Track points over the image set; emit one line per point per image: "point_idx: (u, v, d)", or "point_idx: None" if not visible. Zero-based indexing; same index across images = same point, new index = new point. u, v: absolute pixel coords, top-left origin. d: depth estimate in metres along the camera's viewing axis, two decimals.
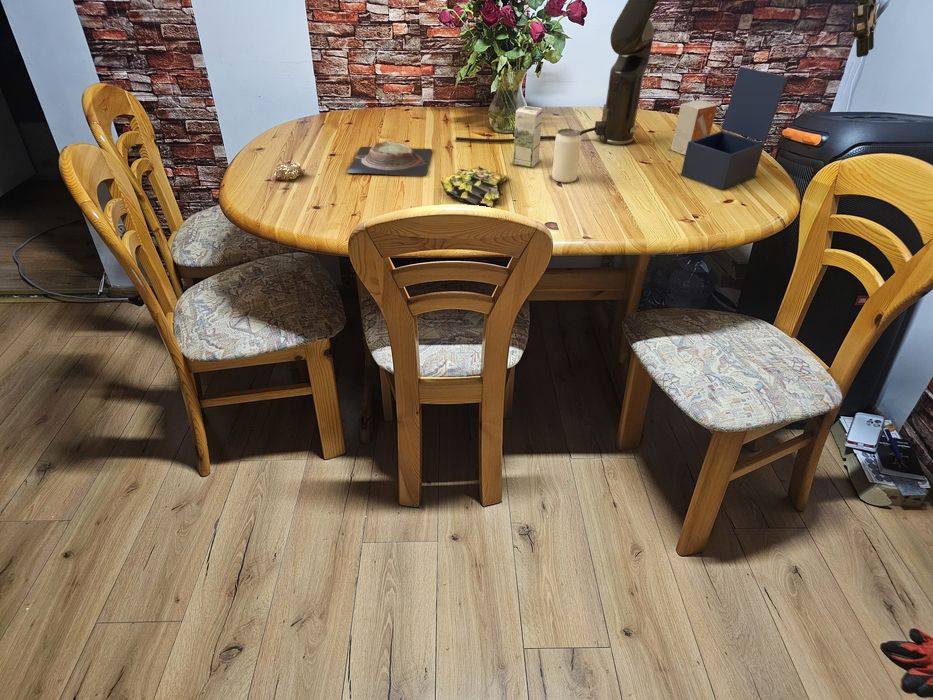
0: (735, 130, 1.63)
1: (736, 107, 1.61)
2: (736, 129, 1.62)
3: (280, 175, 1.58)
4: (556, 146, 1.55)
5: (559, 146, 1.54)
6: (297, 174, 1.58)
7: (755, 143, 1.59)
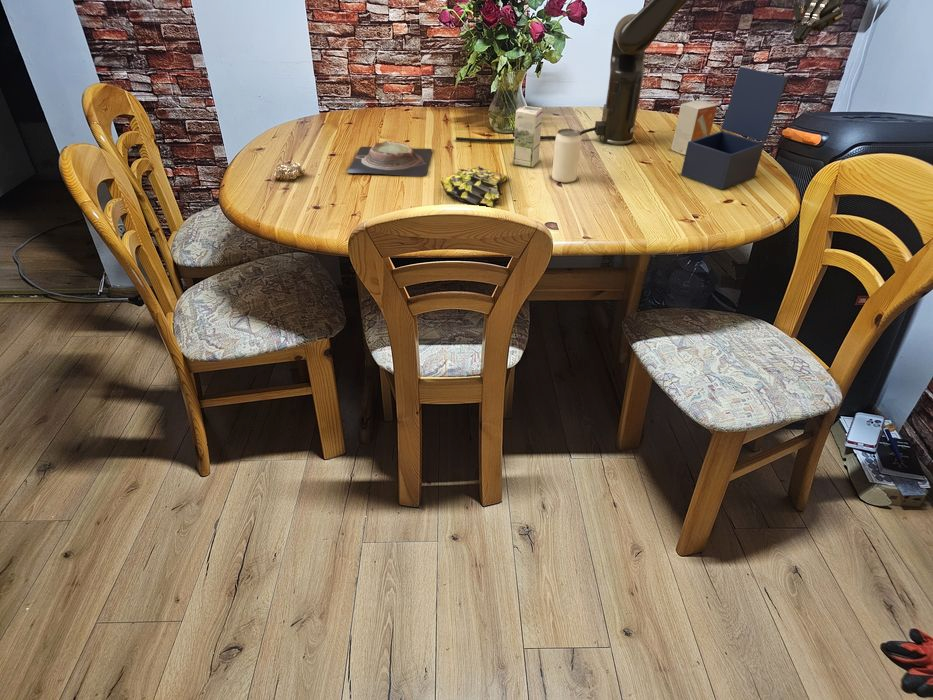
0: (735, 130, 1.63)
1: (736, 107, 1.61)
2: (736, 129, 1.62)
3: (280, 175, 1.58)
4: (556, 146, 1.55)
5: (559, 146, 1.54)
6: (297, 174, 1.58)
7: (755, 143, 1.59)
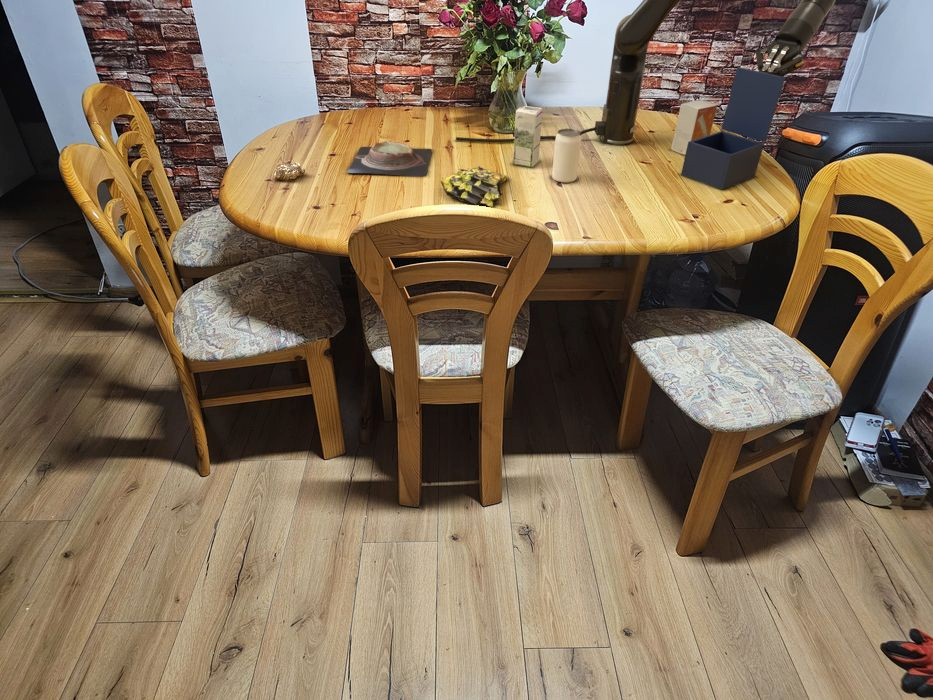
0: (735, 130, 1.63)
1: (735, 107, 1.60)
2: (736, 129, 1.62)
3: (280, 175, 1.58)
4: (556, 146, 1.55)
5: (559, 146, 1.54)
6: (297, 174, 1.58)
7: (755, 143, 1.59)
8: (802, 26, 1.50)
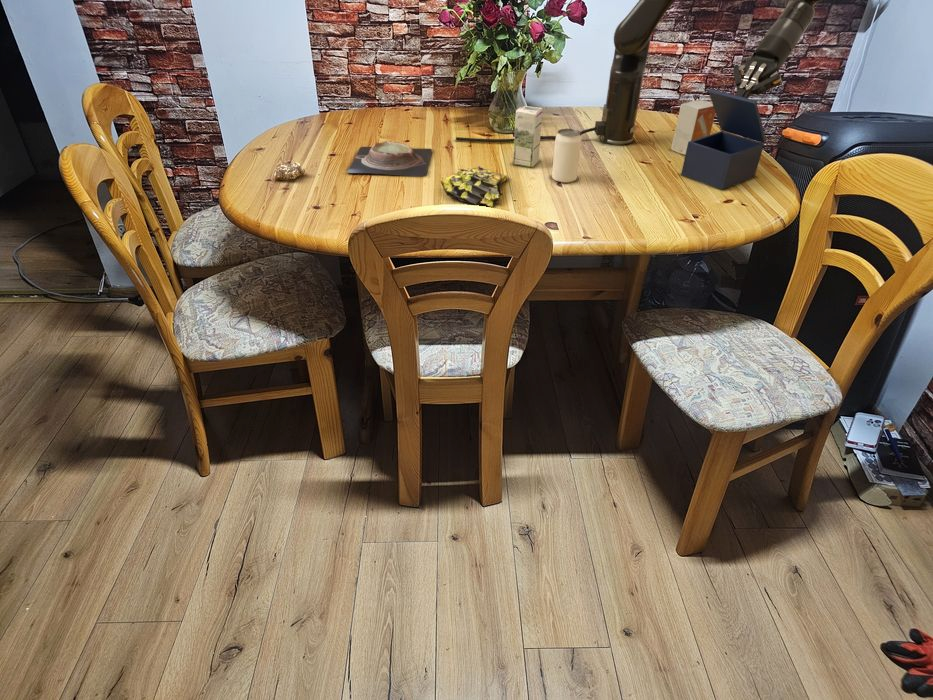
0: (734, 132, 1.63)
1: (724, 117, 1.60)
2: (734, 132, 1.62)
3: (280, 175, 1.58)
4: (556, 146, 1.55)
5: (559, 146, 1.54)
6: (297, 174, 1.58)
7: (755, 143, 1.59)
8: (779, 43, 1.48)
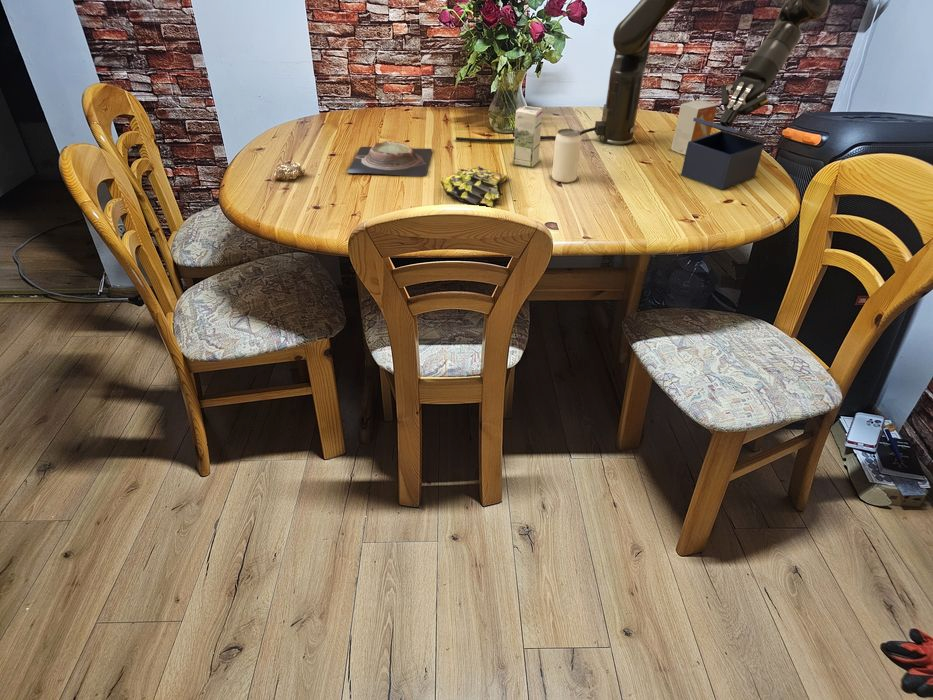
0: None
1: (718, 129, 1.60)
2: None
3: (280, 175, 1.58)
4: (556, 146, 1.55)
5: (559, 146, 1.54)
6: (297, 174, 1.58)
7: (755, 143, 1.59)
8: (766, 64, 1.49)
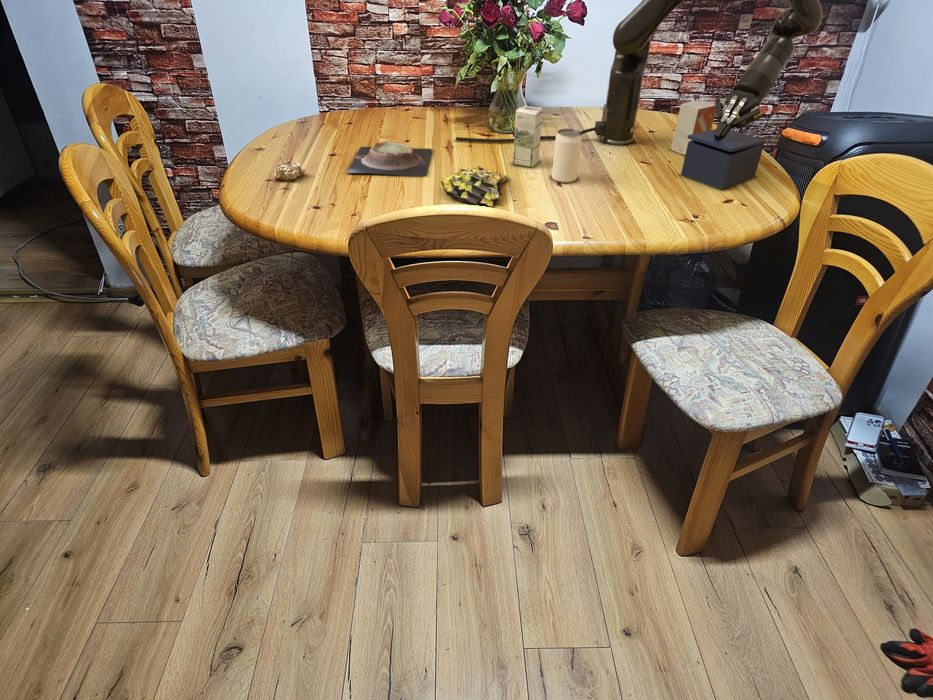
0: None
1: None
2: None
3: (280, 175, 1.58)
4: (556, 146, 1.55)
5: (559, 146, 1.54)
6: (297, 174, 1.58)
7: None
8: (760, 78, 1.50)
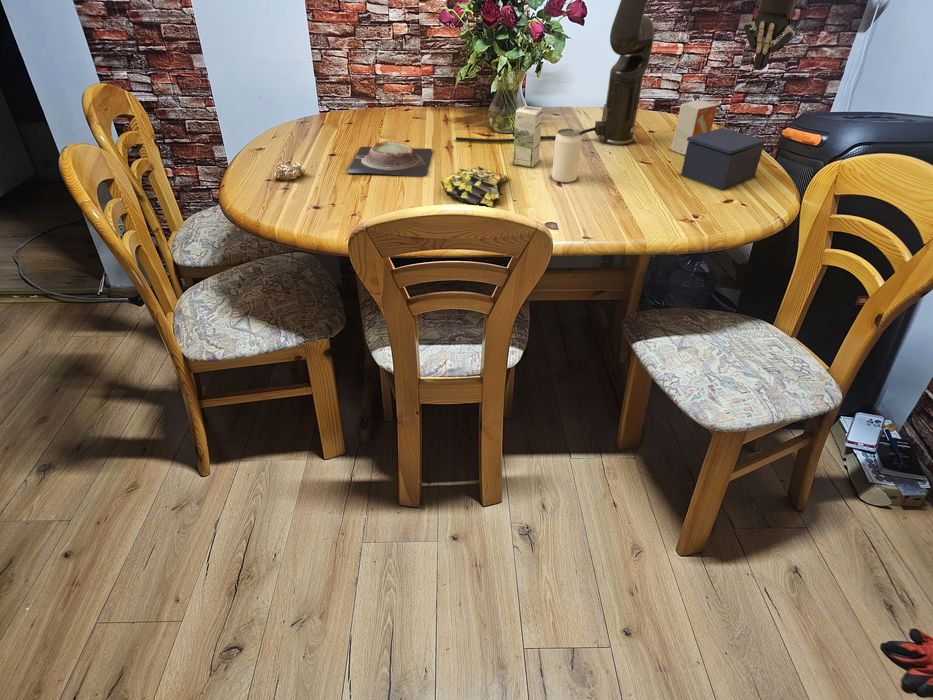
0: None
1: None
2: None
3: (280, 175, 1.58)
4: (556, 146, 1.55)
5: (559, 146, 1.54)
6: (297, 174, 1.58)
7: None
8: (780, 0, 1.42)
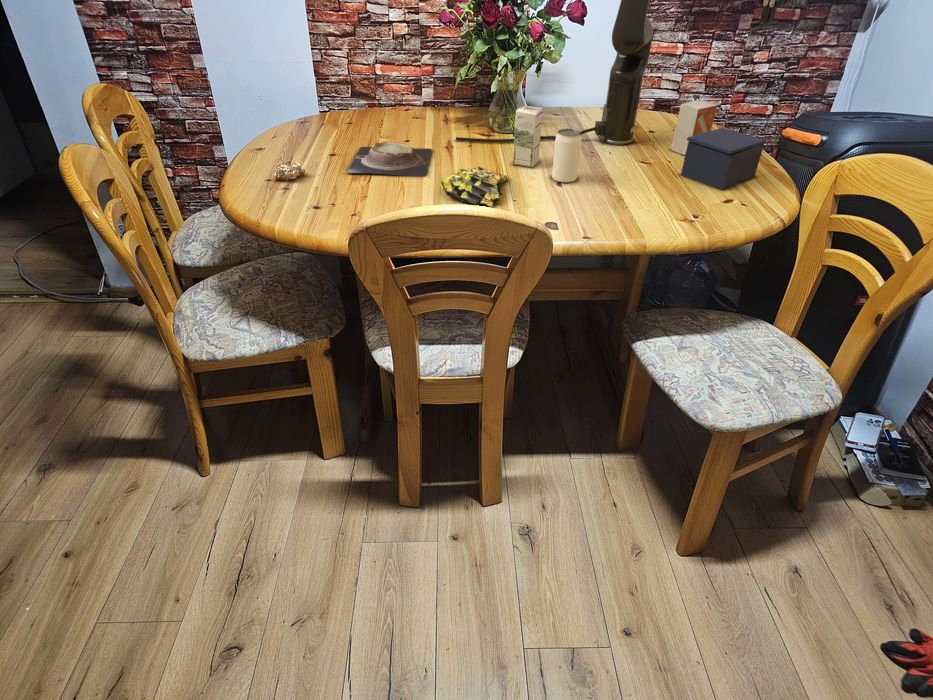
0: None
1: None
2: None
3: (280, 175, 1.58)
4: (556, 146, 1.55)
5: (559, 146, 1.54)
6: (297, 174, 1.58)
7: None
8: None
